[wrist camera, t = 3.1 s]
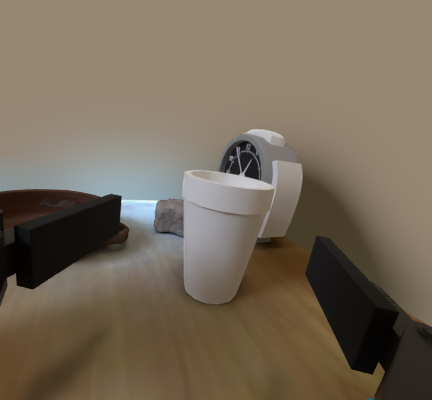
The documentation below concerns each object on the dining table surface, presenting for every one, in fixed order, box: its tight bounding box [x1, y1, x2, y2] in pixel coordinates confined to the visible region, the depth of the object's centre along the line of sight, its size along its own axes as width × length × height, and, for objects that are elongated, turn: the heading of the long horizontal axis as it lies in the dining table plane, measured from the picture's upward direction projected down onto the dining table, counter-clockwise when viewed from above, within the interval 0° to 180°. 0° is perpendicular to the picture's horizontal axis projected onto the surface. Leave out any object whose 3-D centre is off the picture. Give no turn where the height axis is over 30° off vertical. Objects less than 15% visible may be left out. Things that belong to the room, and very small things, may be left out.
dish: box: [0, 189, 129, 244], centre depth 30 cm, size 18×22×5 cm
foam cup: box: [182, 170, 275, 305], centre depth 25 cm, size 10×9×13 cm
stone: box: [154, 199, 184, 236], centre depth 40 cm, size 8×10×6 cm
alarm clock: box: [217, 129, 303, 243], centre depth 44 cm, size 18×8×20 cm, turn 29°
